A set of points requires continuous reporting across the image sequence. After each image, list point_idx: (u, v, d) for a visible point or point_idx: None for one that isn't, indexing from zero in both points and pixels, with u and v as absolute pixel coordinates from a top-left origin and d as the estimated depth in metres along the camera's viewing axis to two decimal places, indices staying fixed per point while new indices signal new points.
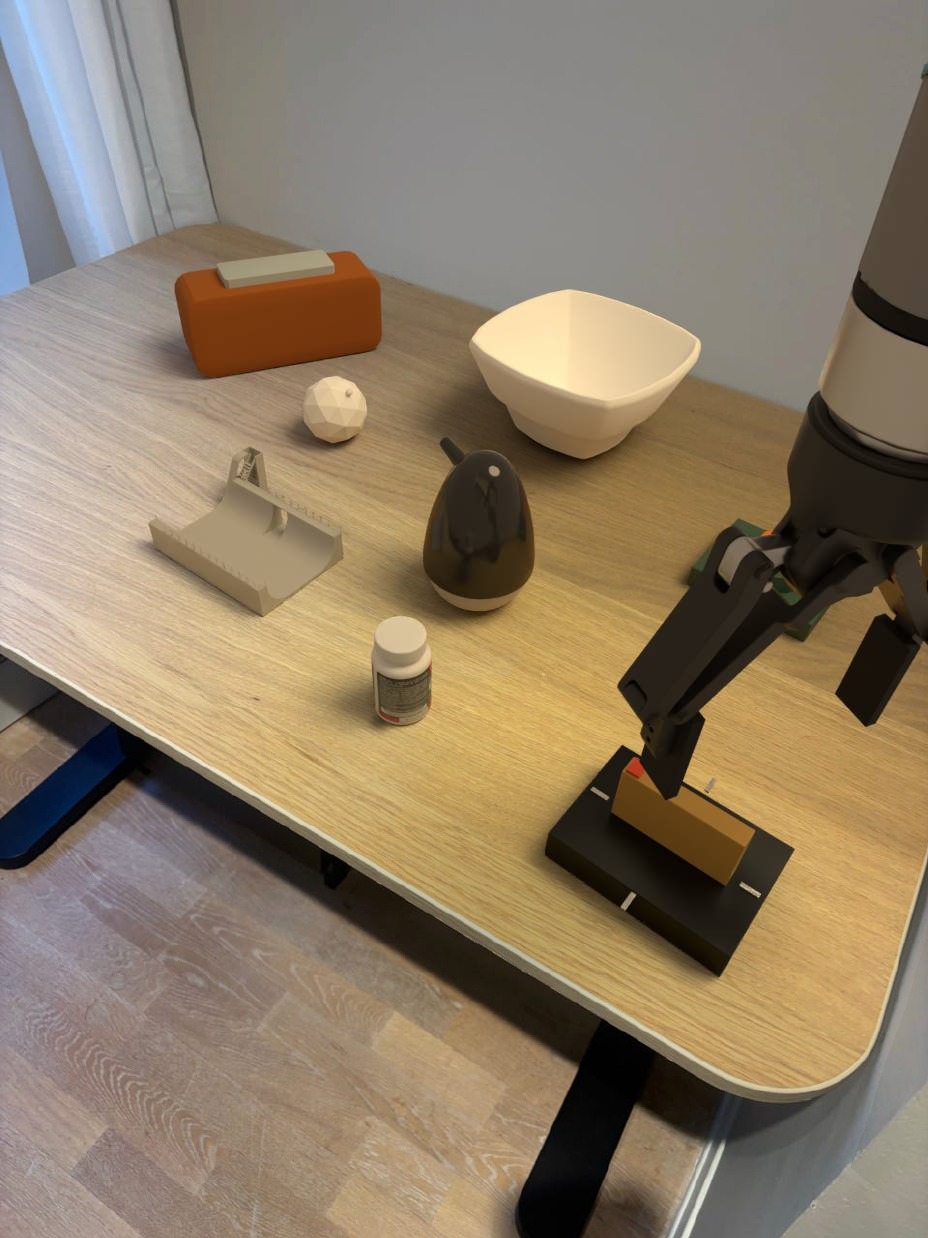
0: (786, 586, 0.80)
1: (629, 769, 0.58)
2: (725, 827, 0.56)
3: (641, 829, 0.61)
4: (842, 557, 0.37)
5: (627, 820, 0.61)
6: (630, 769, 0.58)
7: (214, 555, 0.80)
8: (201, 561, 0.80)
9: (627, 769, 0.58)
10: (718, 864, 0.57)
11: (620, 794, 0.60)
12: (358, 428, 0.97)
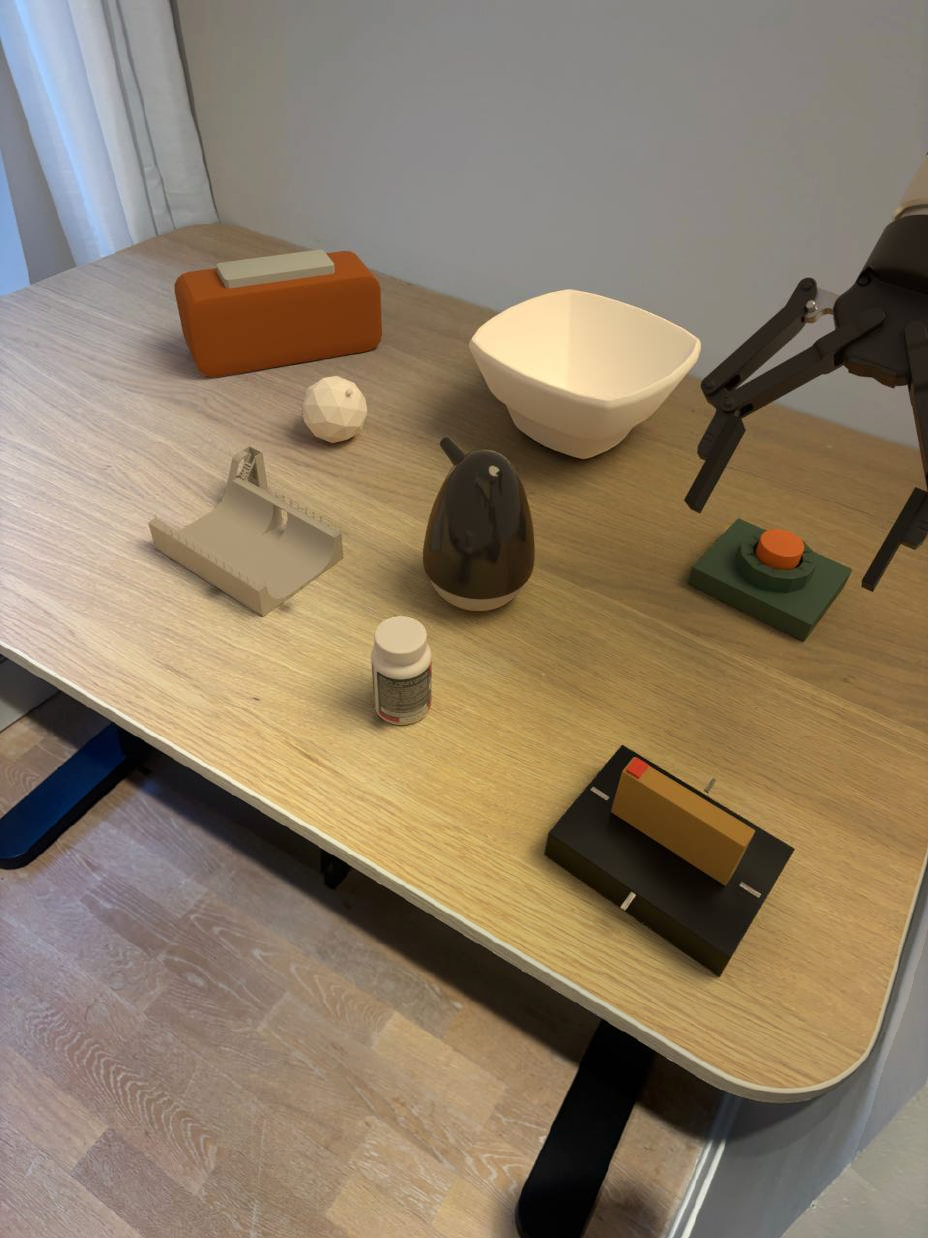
0: (786, 586, 0.80)
1: (629, 769, 0.58)
2: (725, 827, 0.56)
3: (641, 829, 0.61)
4: None
5: (627, 820, 0.61)
6: (630, 769, 0.58)
7: (214, 555, 0.80)
8: (202, 561, 0.80)
9: (627, 769, 0.58)
10: (718, 864, 0.57)
11: (620, 794, 0.60)
12: (358, 428, 0.97)
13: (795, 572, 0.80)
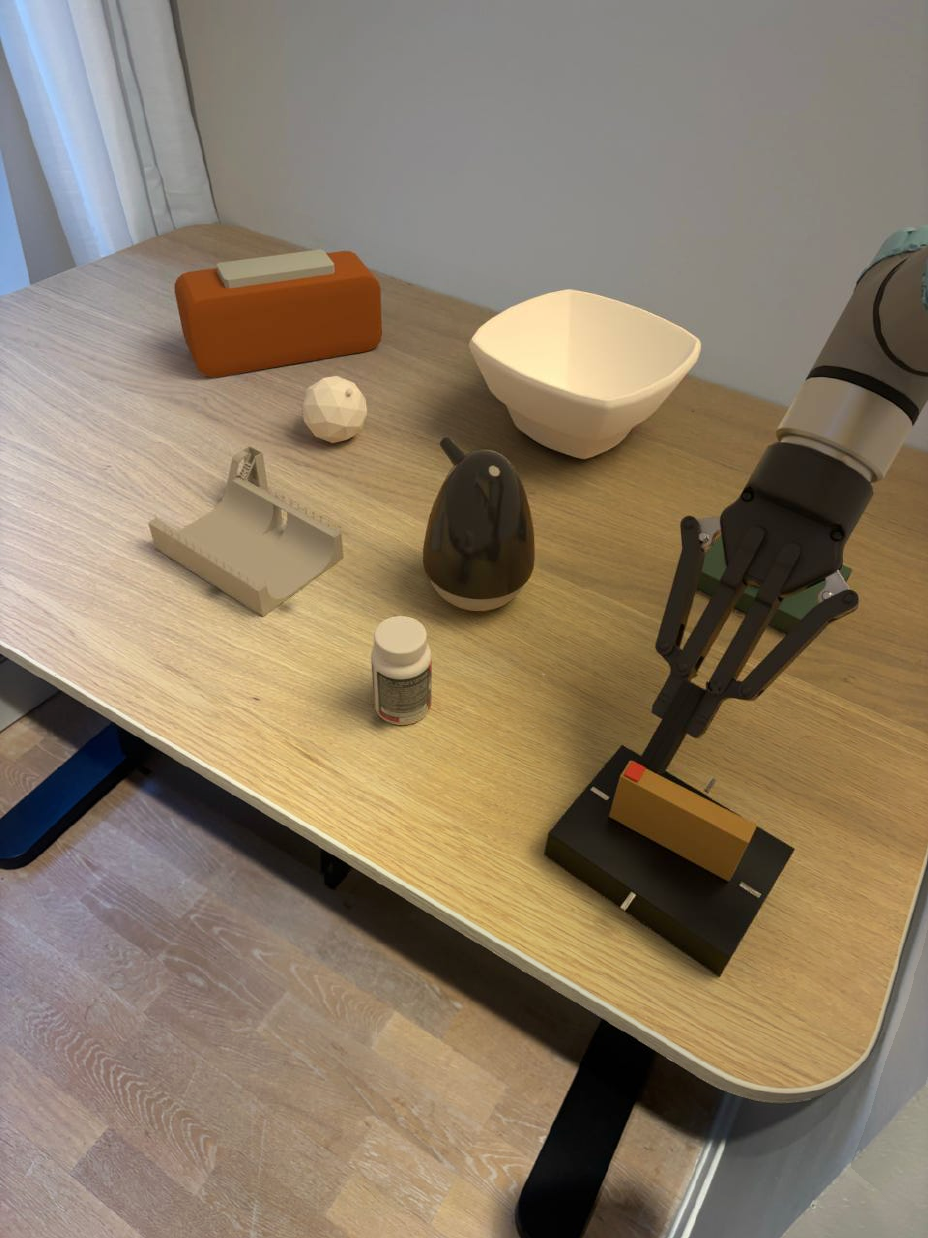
0: None
1: (627, 773, 0.58)
2: (727, 824, 0.56)
3: (641, 832, 0.61)
4: (746, 532, 0.59)
5: (626, 824, 0.61)
6: (628, 773, 0.58)
7: (214, 555, 0.80)
8: (202, 561, 0.80)
9: (625, 773, 0.58)
10: (722, 861, 0.58)
11: (618, 799, 0.60)
12: (358, 428, 0.97)
13: None
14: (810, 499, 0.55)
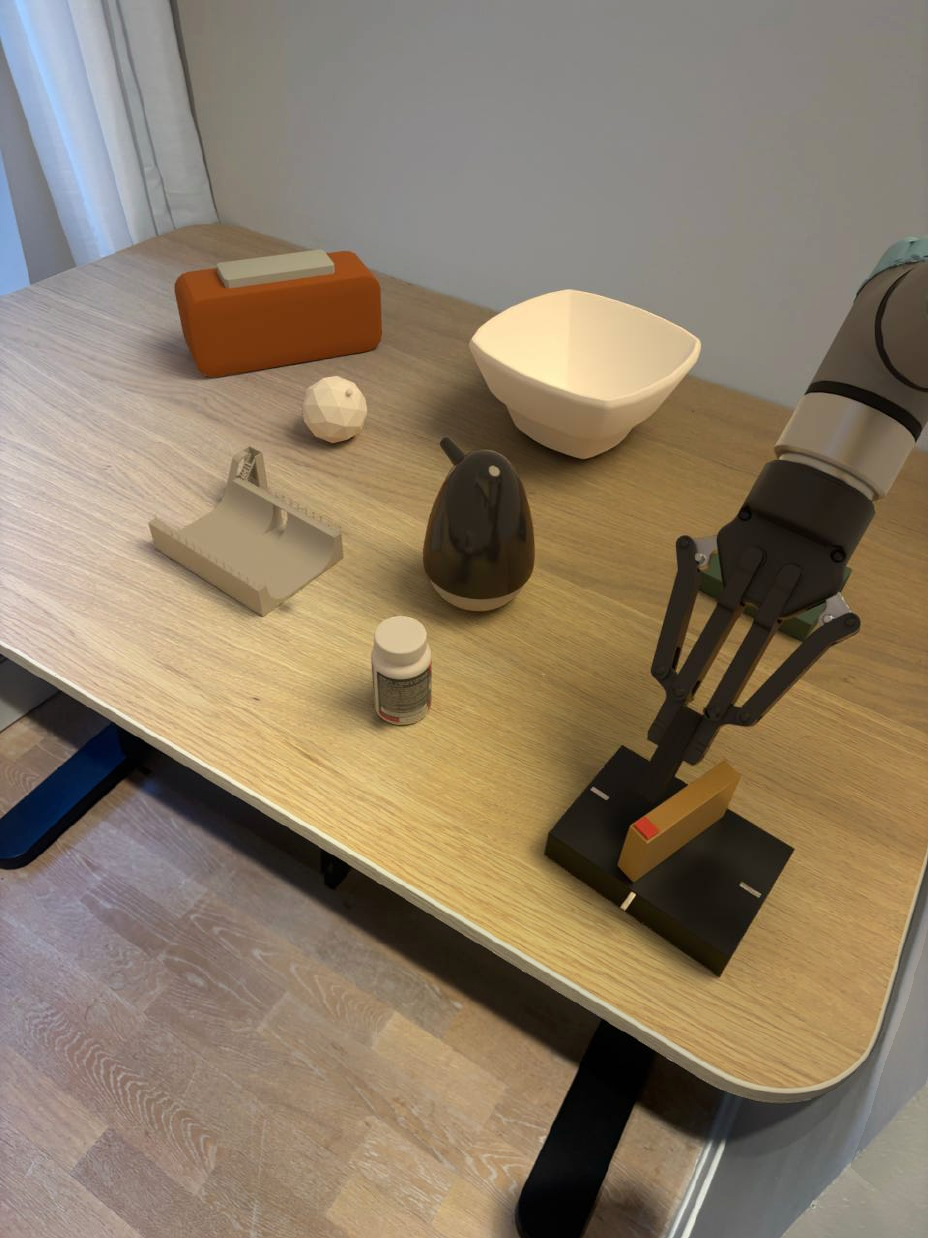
0: None
1: (649, 835, 0.55)
2: (720, 781, 0.58)
3: (660, 861, 0.59)
4: (744, 552, 0.57)
5: (648, 870, 0.59)
6: (649, 834, 0.55)
7: (214, 555, 0.80)
8: (202, 561, 0.80)
9: (648, 837, 0.55)
10: (721, 808, 0.60)
11: (644, 861, 0.56)
12: (358, 428, 0.97)
13: None
14: (810, 519, 0.53)
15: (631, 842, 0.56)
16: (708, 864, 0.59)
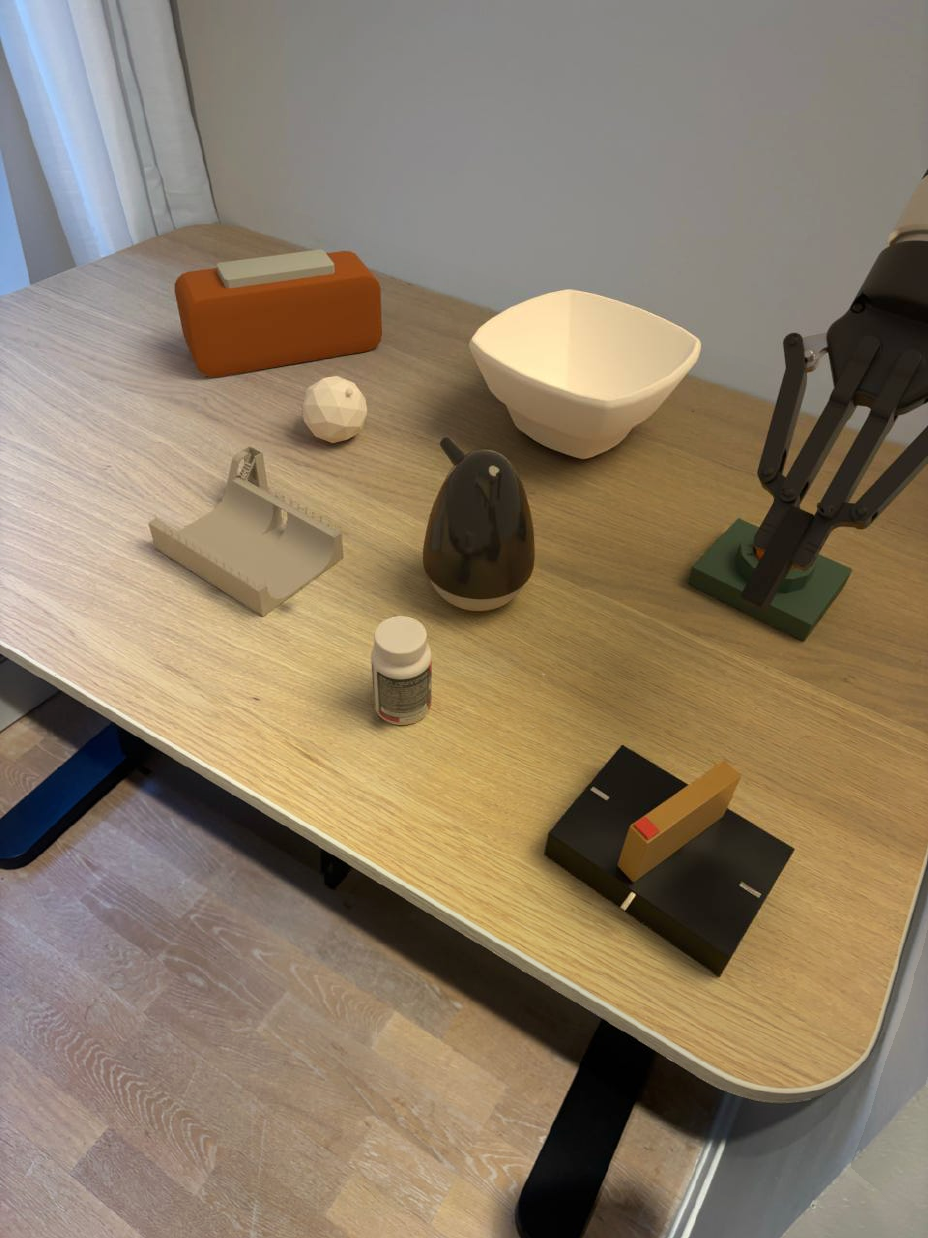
0: (786, 586, 0.80)
1: (649, 835, 0.55)
2: (720, 781, 0.58)
3: (660, 861, 0.59)
4: (858, 344, 0.54)
5: (648, 870, 0.59)
6: (649, 834, 0.55)
7: (214, 555, 0.80)
8: (202, 561, 0.80)
9: (648, 837, 0.55)
10: (721, 808, 0.60)
11: (644, 861, 0.56)
12: (358, 428, 0.97)
13: (795, 572, 0.80)
14: None
15: (631, 842, 0.56)
16: (708, 864, 0.59)
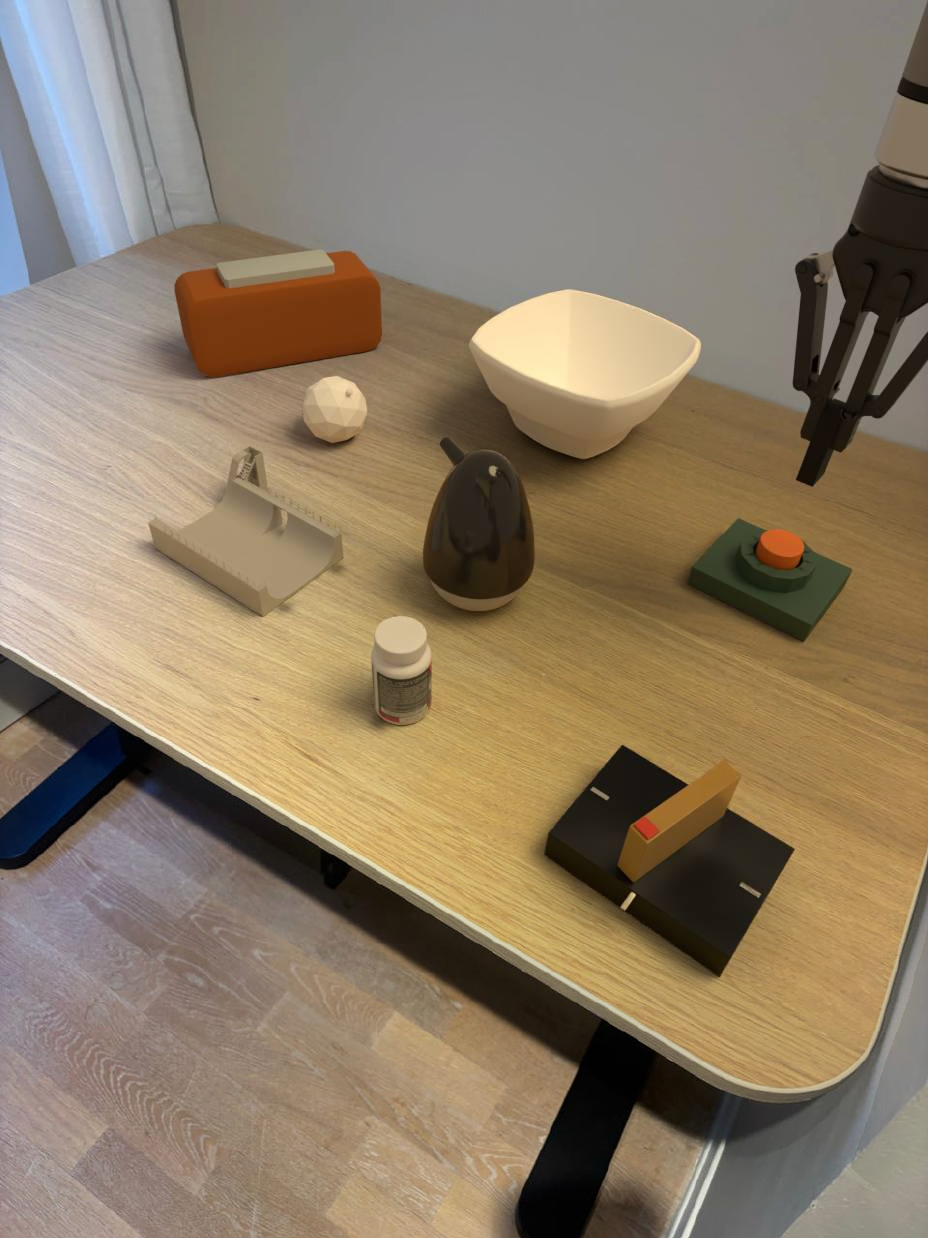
0: (786, 586, 0.80)
1: (649, 835, 0.55)
2: (720, 781, 0.58)
3: (660, 861, 0.59)
4: (857, 267, 0.62)
5: (648, 870, 0.59)
6: (649, 834, 0.55)
7: (214, 555, 0.80)
8: (202, 561, 0.80)
9: (648, 837, 0.55)
10: (721, 808, 0.60)
11: (644, 861, 0.56)
12: (358, 428, 0.97)
13: (795, 572, 0.80)
14: (908, 240, 0.57)
15: (631, 842, 0.56)
16: (708, 864, 0.59)
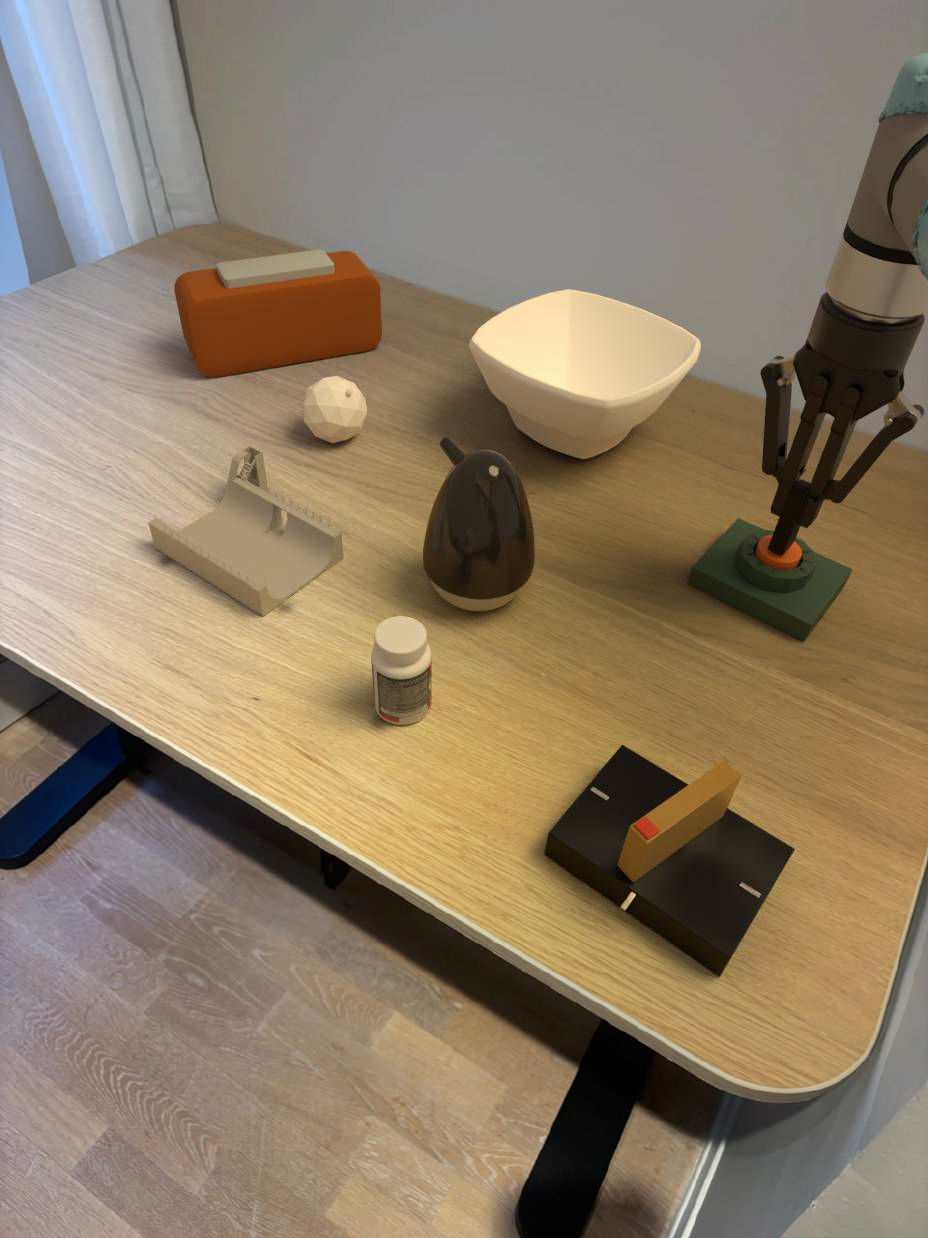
0: (786, 586, 0.80)
1: (649, 835, 0.55)
2: (720, 781, 0.58)
3: (660, 861, 0.59)
4: (815, 376, 0.69)
5: (648, 870, 0.59)
6: (649, 834, 0.55)
7: (214, 555, 0.80)
8: (202, 561, 0.80)
9: (648, 837, 0.55)
10: (721, 808, 0.60)
11: (644, 861, 0.56)
12: (358, 428, 0.97)
13: (795, 572, 0.80)
14: (854, 363, 0.64)
15: (631, 842, 0.56)
16: (708, 864, 0.59)
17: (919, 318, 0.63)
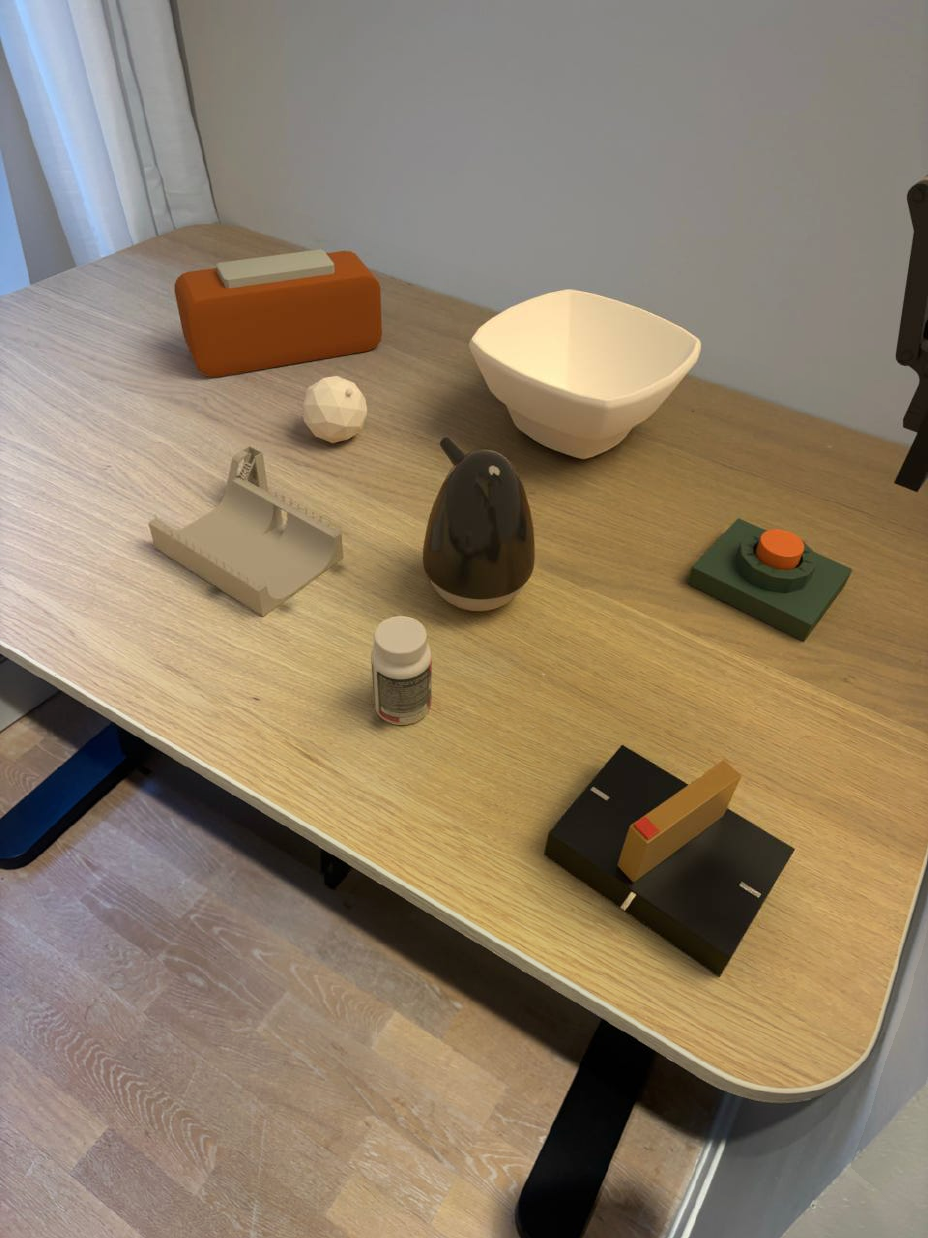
0: (786, 586, 0.80)
1: (649, 835, 0.55)
2: (720, 781, 0.58)
3: (660, 861, 0.59)
4: None
5: (648, 870, 0.59)
6: (649, 834, 0.55)
7: (214, 555, 0.80)
8: (202, 561, 0.80)
9: (648, 837, 0.55)
10: (721, 808, 0.60)
11: (644, 861, 0.56)
12: (358, 428, 0.97)
13: (795, 572, 0.80)
14: None
15: (631, 842, 0.56)
16: (708, 864, 0.59)
17: None
